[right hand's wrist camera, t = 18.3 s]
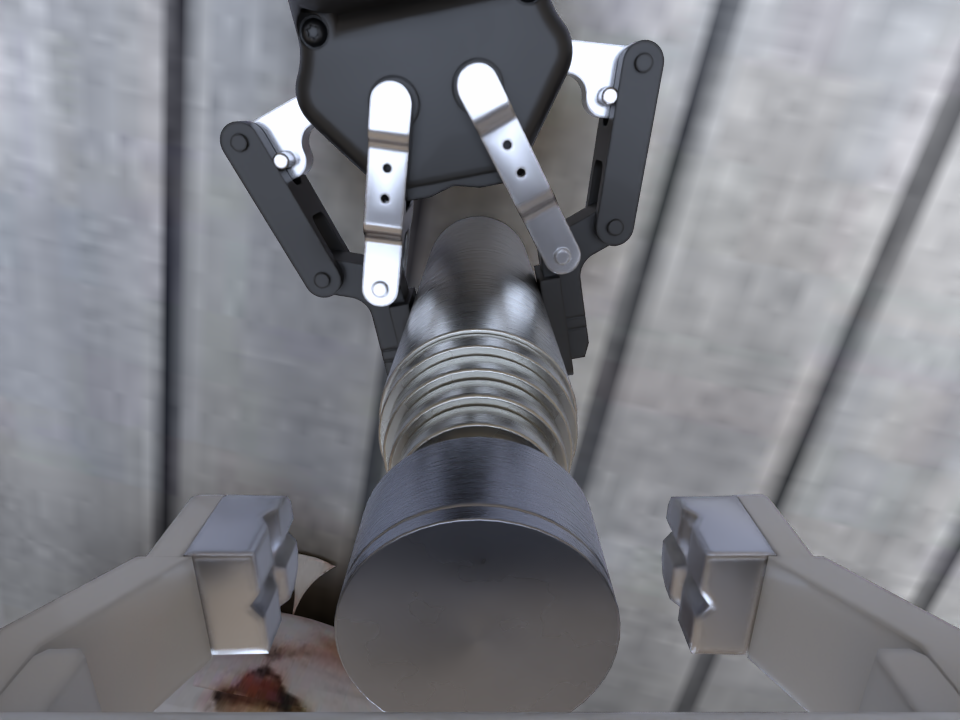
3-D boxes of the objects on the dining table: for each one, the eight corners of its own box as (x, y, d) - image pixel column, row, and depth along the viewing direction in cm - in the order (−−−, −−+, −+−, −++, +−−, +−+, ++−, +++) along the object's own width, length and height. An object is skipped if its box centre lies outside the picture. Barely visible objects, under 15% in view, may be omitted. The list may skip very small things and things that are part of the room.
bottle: (441, 205, 27) (347, 438, 8) (540, 230, 28) (684, 511, 8) (420, 300, 29) (297, 693, 9) (513, 323, 29) (581, 744, 10)
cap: (475, 661, 11) (474, 777, 9) (313, 535, 10) (274, 636, 8) (641, 538, 10) (679, 640, 8) (480, 388, 9) (480, 462, 7)
